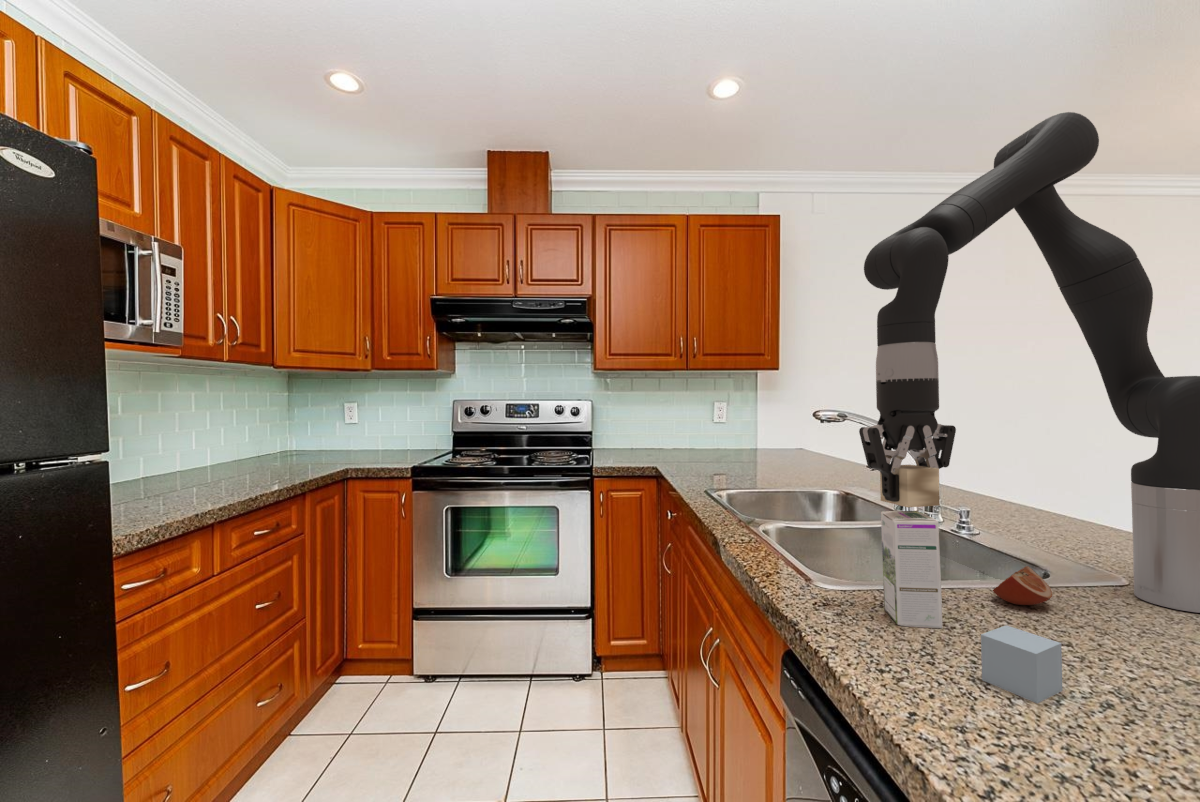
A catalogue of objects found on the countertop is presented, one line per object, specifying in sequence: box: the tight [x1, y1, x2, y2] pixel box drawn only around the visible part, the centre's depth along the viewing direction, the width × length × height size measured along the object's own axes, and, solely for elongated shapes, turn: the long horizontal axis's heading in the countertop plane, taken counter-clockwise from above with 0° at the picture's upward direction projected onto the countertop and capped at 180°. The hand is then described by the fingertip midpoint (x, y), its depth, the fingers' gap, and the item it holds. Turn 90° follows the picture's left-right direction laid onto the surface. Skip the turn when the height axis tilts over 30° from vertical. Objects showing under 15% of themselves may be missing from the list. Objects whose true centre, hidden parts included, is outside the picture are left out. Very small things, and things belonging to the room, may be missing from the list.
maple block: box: [879, 464, 941, 508], centre depth 72 cm, size 5×5×5 cm
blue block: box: [980, 625, 1063, 704], centre depth 55 cm, size 5×5×5 cm
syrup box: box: [880, 510, 943, 629], centre depth 72 cm, size 6×6×14 cm
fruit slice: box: [992, 565, 1053, 606], centre depth 77 cm, size 8×7×5 cm
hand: (909, 499), depth 72 cm, fingers closed on maple block, 4 cm apart
